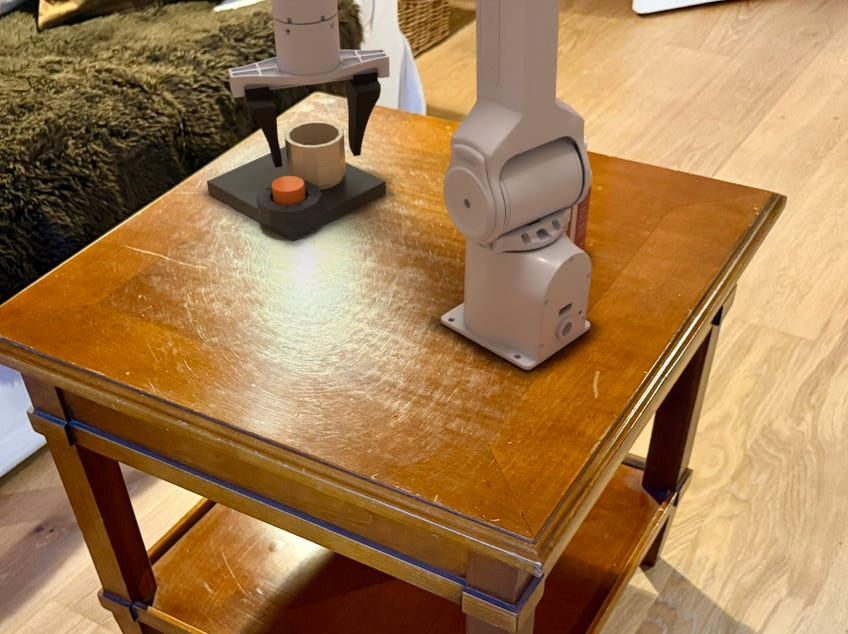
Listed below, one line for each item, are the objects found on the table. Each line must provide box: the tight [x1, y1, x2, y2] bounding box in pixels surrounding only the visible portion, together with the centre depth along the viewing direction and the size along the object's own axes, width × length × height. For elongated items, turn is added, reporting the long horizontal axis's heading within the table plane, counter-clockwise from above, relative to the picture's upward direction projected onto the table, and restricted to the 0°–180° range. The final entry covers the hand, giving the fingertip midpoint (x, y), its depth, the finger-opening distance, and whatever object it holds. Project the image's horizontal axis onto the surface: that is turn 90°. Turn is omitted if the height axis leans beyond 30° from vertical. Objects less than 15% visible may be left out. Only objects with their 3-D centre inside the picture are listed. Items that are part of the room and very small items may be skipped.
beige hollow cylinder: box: [284, 120, 346, 189], centre depth 98 cm, size 6×6×4 cm
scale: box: [206, 146, 387, 242], centre depth 98 cm, size 14×13×3 cm
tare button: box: [272, 176, 306, 205], centre depth 93 cm, size 3×3×2 cm
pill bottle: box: [563, 134, 593, 252], centre depth 86 cm, size 6×6×11 cm
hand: (316, 157), depth 98 cm, fingers open, 7 cm apart
